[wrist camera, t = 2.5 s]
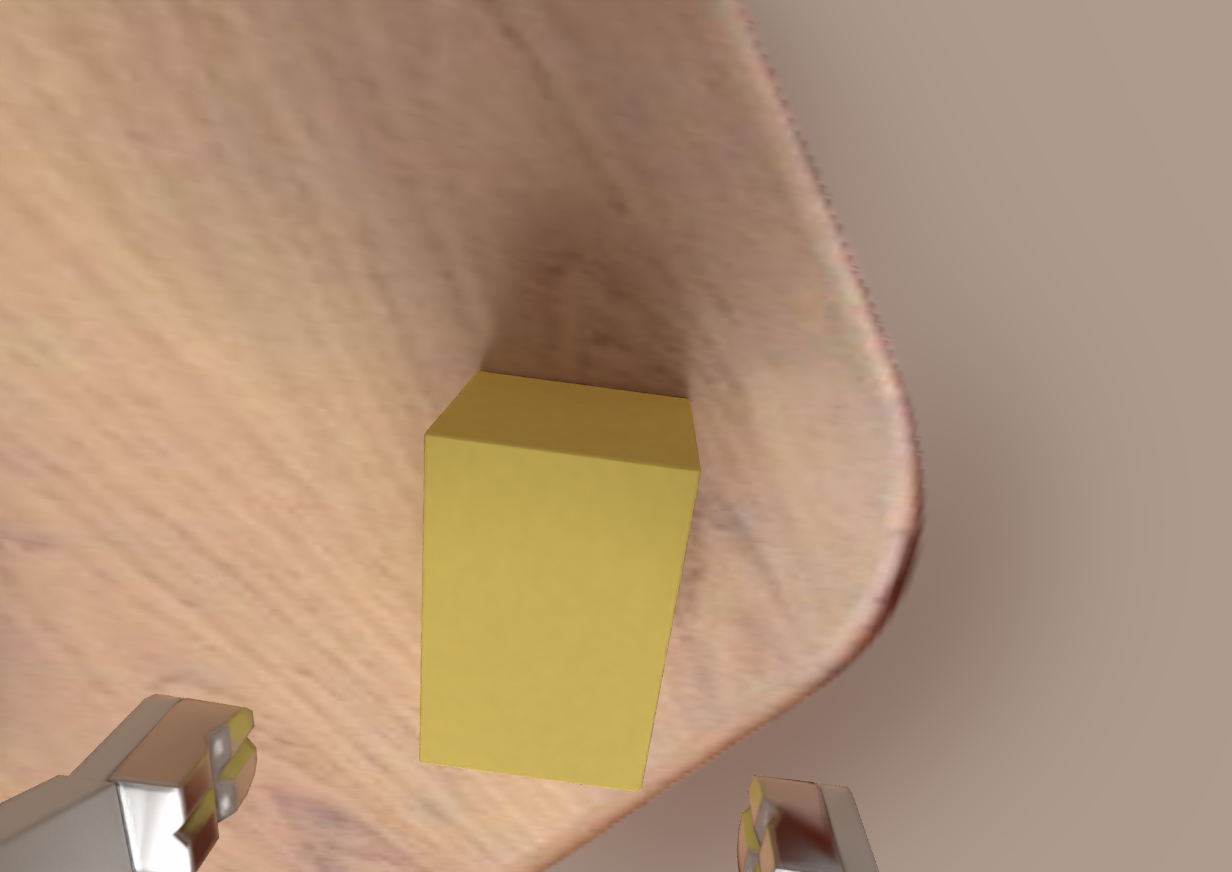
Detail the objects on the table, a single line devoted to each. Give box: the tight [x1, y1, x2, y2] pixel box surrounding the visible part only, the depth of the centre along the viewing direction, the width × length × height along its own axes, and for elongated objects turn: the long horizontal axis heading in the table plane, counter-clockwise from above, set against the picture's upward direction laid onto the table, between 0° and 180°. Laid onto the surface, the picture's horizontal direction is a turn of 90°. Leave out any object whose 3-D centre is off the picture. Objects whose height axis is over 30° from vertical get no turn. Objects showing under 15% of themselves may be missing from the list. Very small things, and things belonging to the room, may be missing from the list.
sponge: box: [419, 371, 701, 792], centre depth 15 cm, size 8×5×4 cm, turn 173°
